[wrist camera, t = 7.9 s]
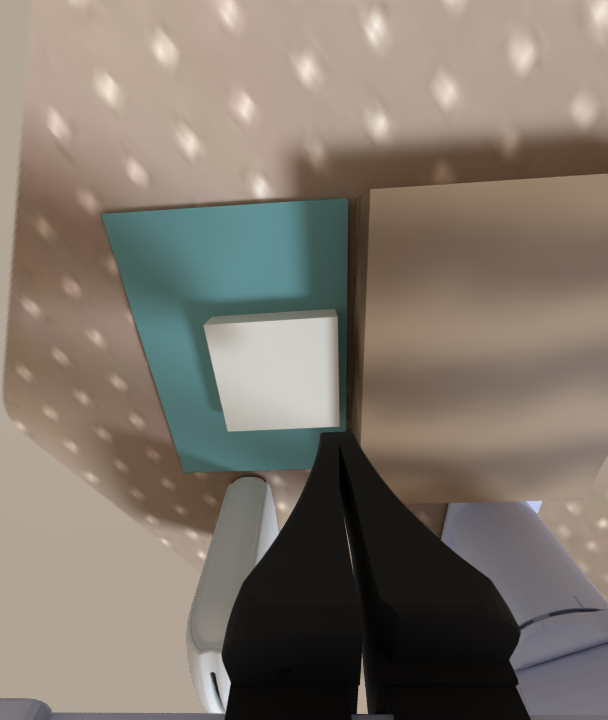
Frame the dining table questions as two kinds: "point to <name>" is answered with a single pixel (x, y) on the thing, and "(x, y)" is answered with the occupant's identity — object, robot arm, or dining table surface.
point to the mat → (229, 310)
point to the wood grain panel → (483, 338)
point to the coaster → (276, 369)
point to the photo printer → (227, 582)
